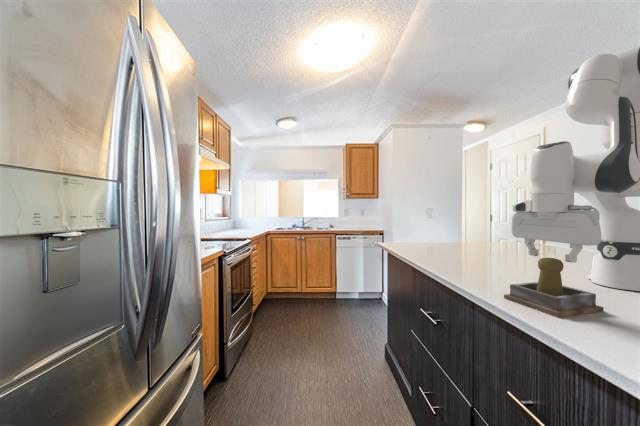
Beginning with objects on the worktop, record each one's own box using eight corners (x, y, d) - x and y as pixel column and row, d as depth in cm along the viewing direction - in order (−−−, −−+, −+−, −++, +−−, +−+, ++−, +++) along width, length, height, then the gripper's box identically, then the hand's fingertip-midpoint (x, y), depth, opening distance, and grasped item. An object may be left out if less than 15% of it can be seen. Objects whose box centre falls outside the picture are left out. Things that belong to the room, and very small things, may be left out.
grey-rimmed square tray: (544, 293, 84) (544, 280, 84) (603, 311, 70) (603, 294, 70) (503, 298, 80) (504, 283, 80) (558, 317, 66) (558, 300, 66)
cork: (554, 296, 78) (555, 256, 77) (571, 304, 72) (572, 260, 71) (530, 296, 78) (530, 256, 78) (544, 304, 72) (545, 260, 72)
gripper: (609, 205, 65) (608, 265, 66) (524, 205, 85) (524, 251, 85) (588, 205, 64) (588, 267, 64) (507, 205, 84) (507, 253, 84)
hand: (551, 258), depth 75 cm, fingers open, 8 cm apart
